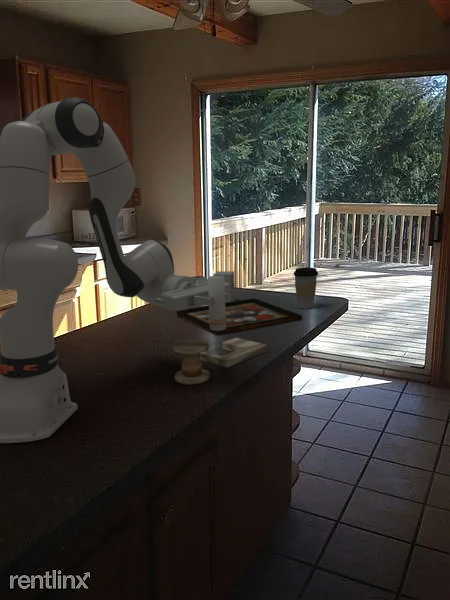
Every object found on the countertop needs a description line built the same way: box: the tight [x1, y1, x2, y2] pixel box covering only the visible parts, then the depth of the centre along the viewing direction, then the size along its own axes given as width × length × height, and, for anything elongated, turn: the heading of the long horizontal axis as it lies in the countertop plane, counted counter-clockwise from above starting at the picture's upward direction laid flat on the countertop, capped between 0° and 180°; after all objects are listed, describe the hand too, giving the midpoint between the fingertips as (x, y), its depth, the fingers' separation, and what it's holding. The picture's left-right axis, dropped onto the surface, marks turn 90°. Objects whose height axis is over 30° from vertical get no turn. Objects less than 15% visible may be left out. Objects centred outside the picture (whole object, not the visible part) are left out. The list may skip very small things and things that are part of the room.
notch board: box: [200, 337, 268, 368], centre depth 158 cm, size 12×18×2 cm
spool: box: [172, 338, 211, 386], centre depth 140 cm, size 9×9×9 cm
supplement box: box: [212, 270, 236, 303], centre depth 221 cm, size 7×7×13 cm
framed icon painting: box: [175, 297, 303, 337], centre depth 199 cm, size 38×35×3 cm
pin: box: [207, 275, 226, 331], centre depth 135 cm, size 4×4×13 cm
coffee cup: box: [293, 266, 319, 310], centre depth 210 cm, size 9×9×15 cm
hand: (219, 299), depth 134 cm, fingers closed on pin, 4 cm apart
